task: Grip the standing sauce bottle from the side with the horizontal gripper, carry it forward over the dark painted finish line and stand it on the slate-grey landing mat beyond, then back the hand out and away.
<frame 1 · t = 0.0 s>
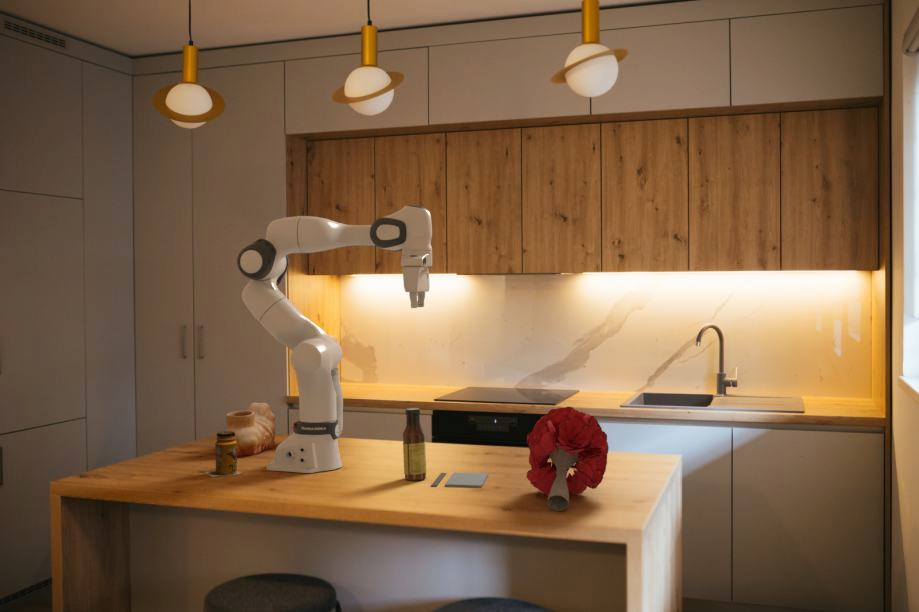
hand: (417, 307, 257), 48 cm above the counter, tool pointing down, fingers open, 8 cm apart
finish line: (438, 480, 245), on the counter
landing mat: (467, 480, 244), on the counter
sauce bottle: (414, 479, 247), on the counter
ceramic vessel: (250, 451, 291), on the counter
glass bottle: (328, 442, 306), on the counter
bouquet: (562, 499, 223), on the counter
condiment: (223, 474, 255), on the counter
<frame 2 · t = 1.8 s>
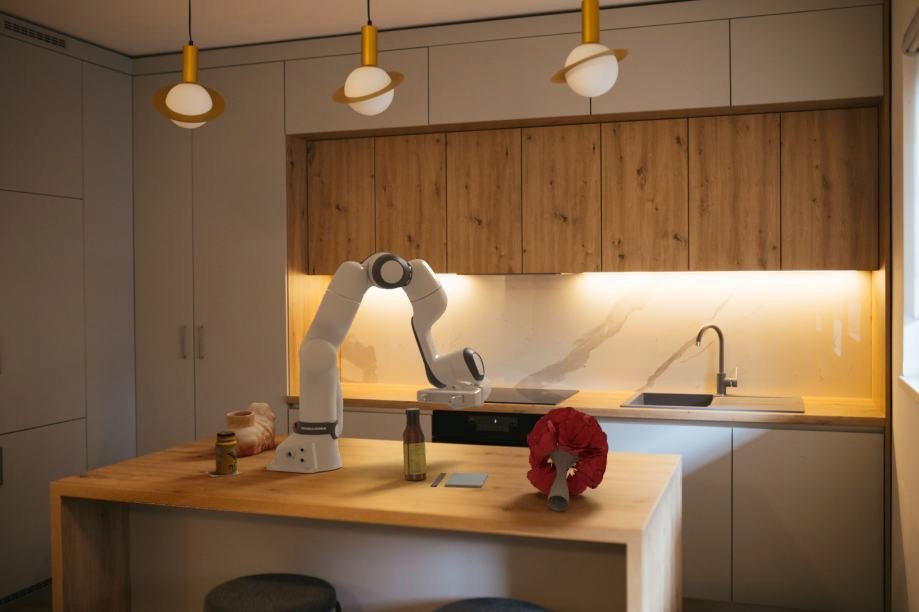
hand: (436, 399, 257), 21 cm above the counter, tool horizontal, fingers open, 8 cm apart
nothing on the counter moved.
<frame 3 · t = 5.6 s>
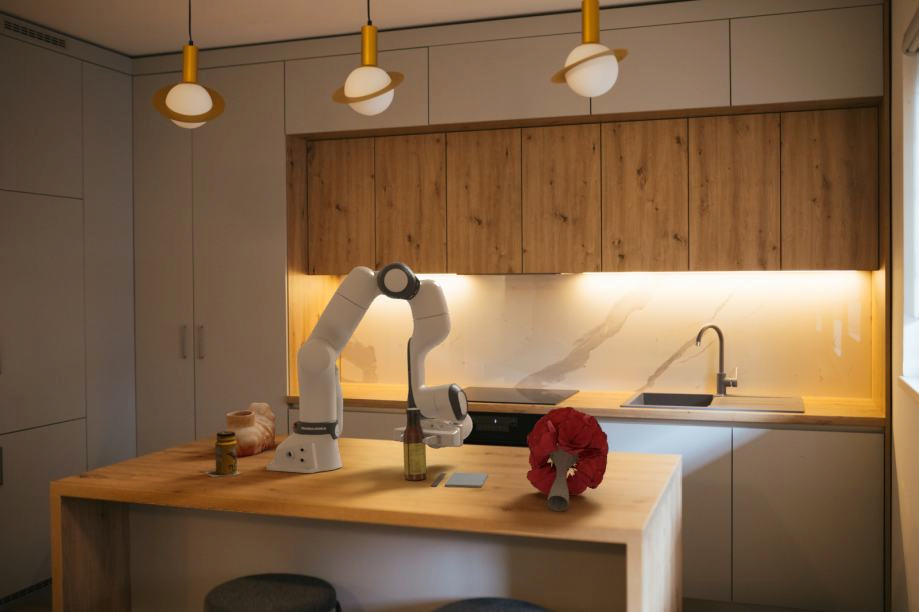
hand: (412, 440, 246), 11 cm above the counter, tool horizontal, fingers closed on sauce bottle, 6 cm apart
sauce bottle: (414, 479, 247), on the counter, touching gripper
everything else where it was.
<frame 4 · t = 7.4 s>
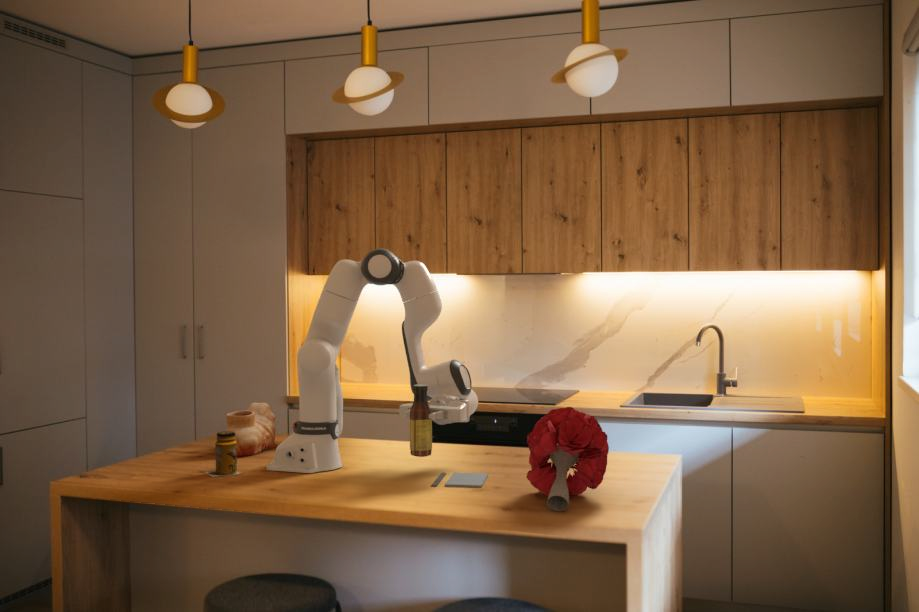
hand: (419, 415, 245), 18 cm above the counter, tool horizontal, fingers closed on sauce bottle, 6 cm apart
sauce bottle: (420, 455, 247), point 7 cm above the counter, touching gripper
everything else where it was.
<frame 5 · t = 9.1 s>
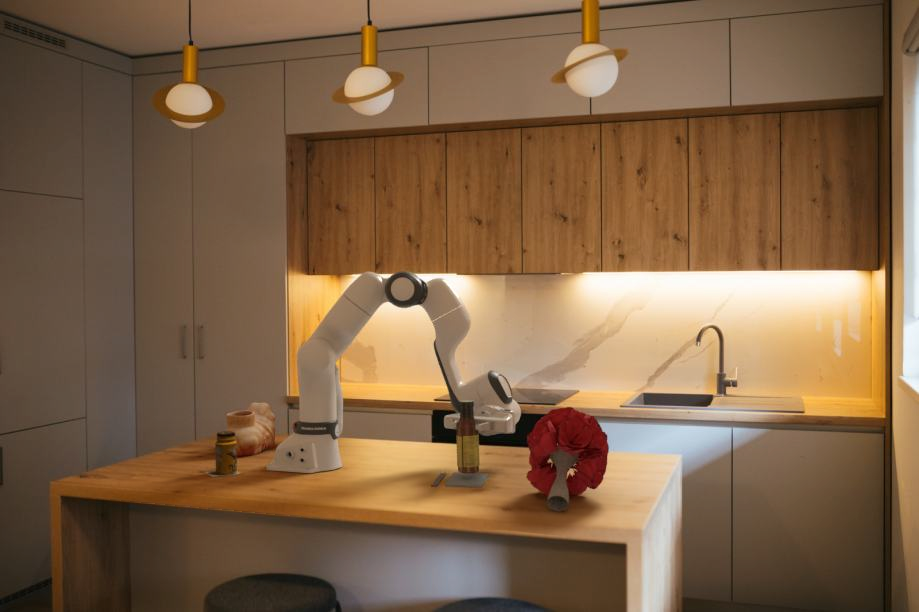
hand: (465, 427, 243), 15 cm above the counter, tool horizontal, fingers closed on sauce bottle, 6 cm apart
sauce bottle: (467, 472, 244), point 2 cm above the counter, touching gripper
everything else where it was.
when the fingers open (13 cm above the counter, at t = 10.1 s): sauce bottle stays where it is, resting on landing mat.
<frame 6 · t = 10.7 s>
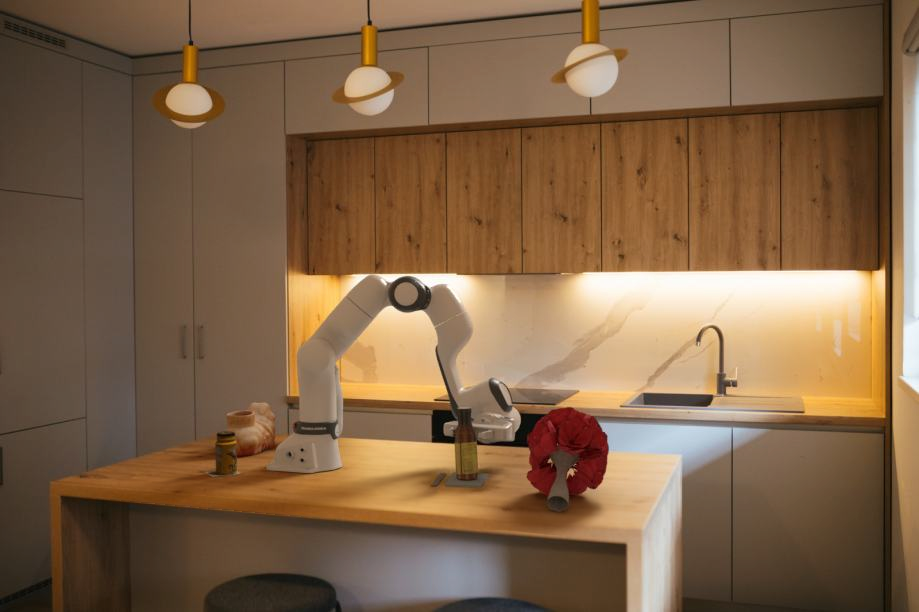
hand: (465, 434, 243), 13 cm above the counter, tool horizontal, fingers open, 8 cm apart
sauce bottle: (466, 479, 244), resting on landing mat
everything else where it was.
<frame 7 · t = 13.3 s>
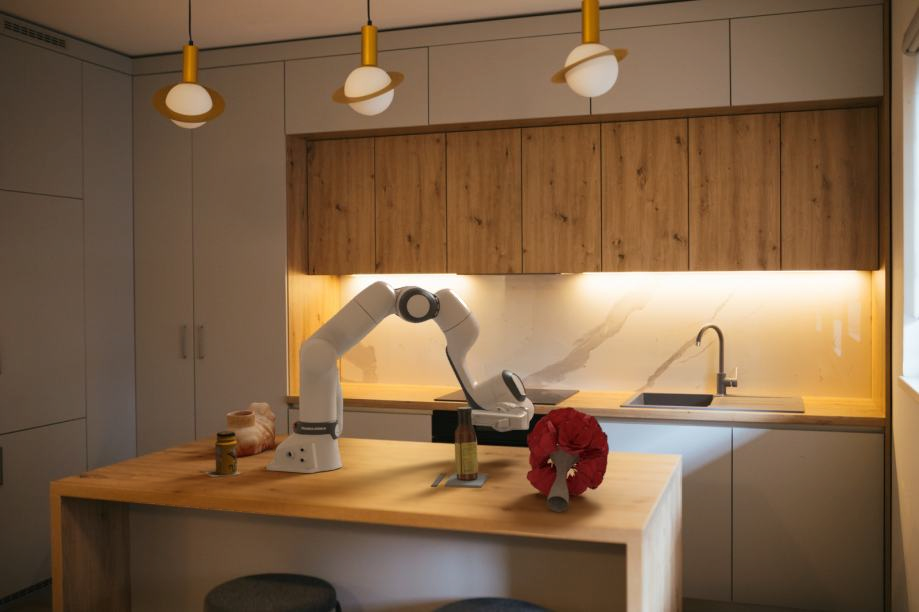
hand: (482, 422, 255), 14 cm above the counter, tool horizontal, fingers open, 8 cm apart
nothing on the counter moved.
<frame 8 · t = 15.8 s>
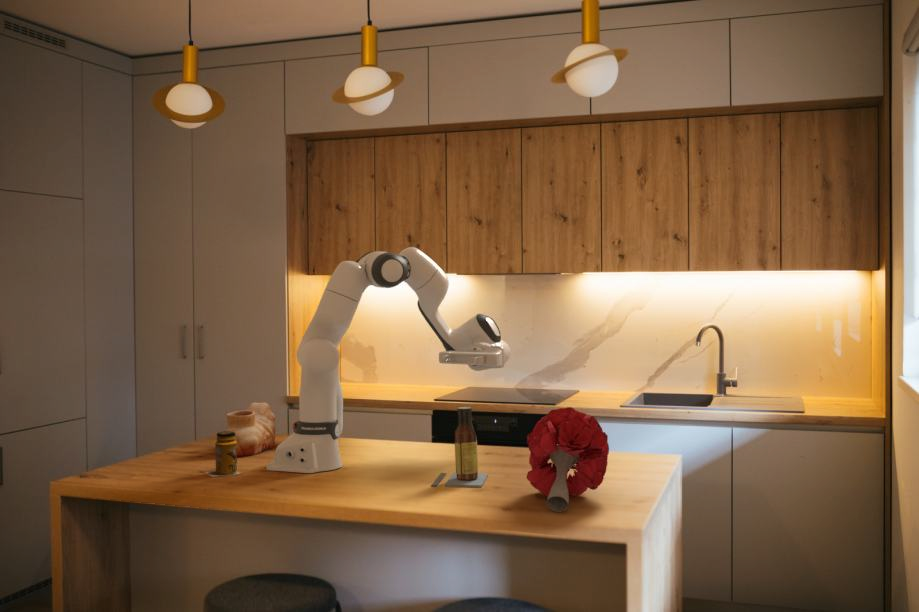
hand: (458, 360, 263), 32 cm above the counter, tool horizontal, fingers open, 8 cm apart
nothing on the counter moved.
at the end: sauce bottle inside the target area (0.5 cm from its centre), resting on landing mat; sauce bottle tilted 0°; the gripper is holding nothing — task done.
